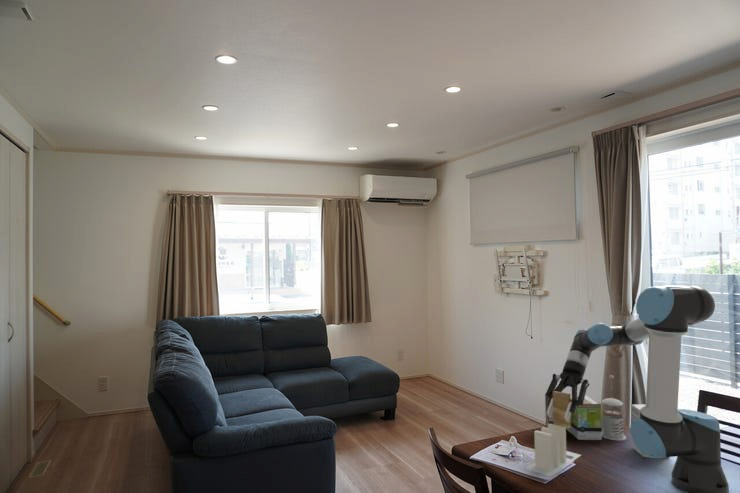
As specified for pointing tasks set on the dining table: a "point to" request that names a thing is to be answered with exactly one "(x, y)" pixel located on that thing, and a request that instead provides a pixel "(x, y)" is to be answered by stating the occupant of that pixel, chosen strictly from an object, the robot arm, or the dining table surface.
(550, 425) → the ivory tile
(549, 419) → the coffee box
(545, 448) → the ivory tile
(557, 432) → the ivory tile
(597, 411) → the tea box
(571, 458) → the mat
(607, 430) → the french press
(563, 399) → the ochre tile
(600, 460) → the dining table surface
